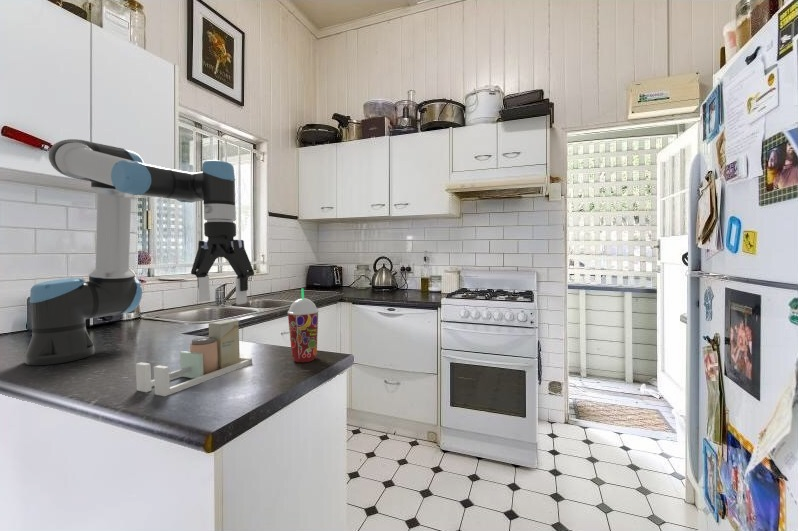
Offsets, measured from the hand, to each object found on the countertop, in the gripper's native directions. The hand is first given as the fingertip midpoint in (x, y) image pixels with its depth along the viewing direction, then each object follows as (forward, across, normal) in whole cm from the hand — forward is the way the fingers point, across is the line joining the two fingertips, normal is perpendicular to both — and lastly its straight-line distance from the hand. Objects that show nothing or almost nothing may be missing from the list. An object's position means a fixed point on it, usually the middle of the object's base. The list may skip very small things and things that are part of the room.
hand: (222, 302), depth 97 cm
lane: (+17, 0, -7) cm, 19 cm away
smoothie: (+17, +16, +13) cm, 27 cm away
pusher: (+17, 0, -14) cm, 22 cm away
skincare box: (+17, 0, 0) cm, 17 cm away
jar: (+17, 0, -6) cm, 18 cm away
